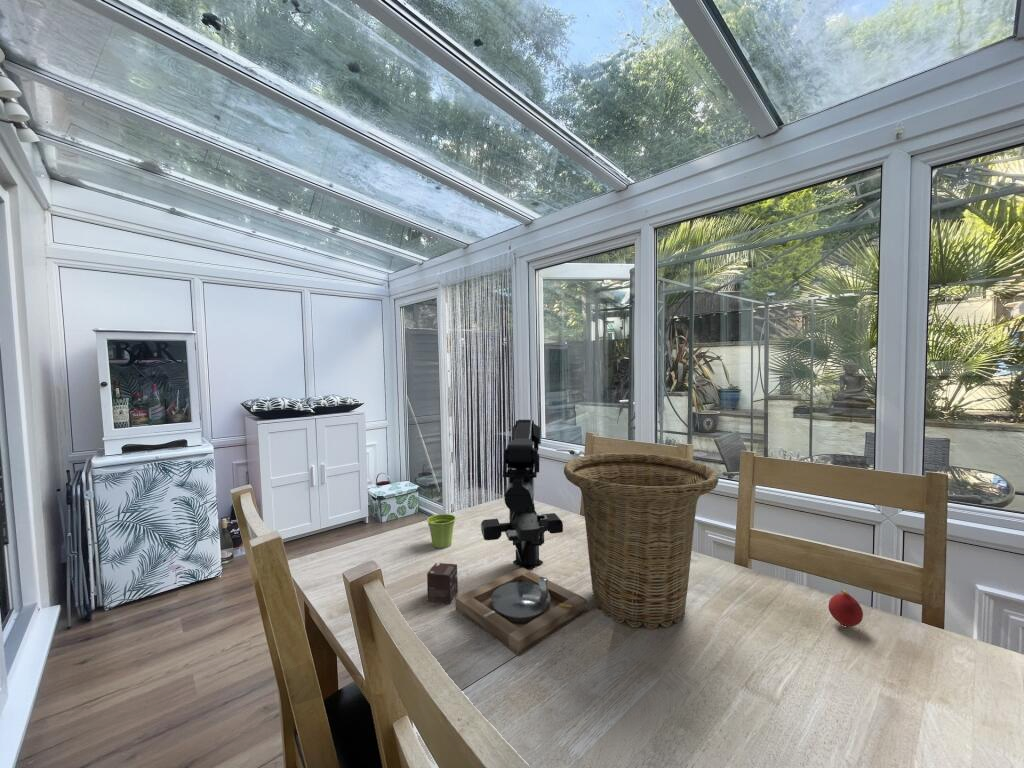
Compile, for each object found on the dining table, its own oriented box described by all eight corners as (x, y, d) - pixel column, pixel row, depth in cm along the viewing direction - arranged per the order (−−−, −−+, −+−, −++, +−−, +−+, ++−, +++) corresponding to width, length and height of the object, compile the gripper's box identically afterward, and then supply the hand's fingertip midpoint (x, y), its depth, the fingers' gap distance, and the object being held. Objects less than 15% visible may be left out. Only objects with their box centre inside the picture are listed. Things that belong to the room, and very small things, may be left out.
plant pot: (424, 542, 139) (423, 516, 138) (451, 537, 143) (451, 512, 142) (431, 553, 130) (430, 525, 130) (460, 547, 134) (459, 520, 134)
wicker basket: (593, 558, 125) (592, 448, 124) (724, 588, 107) (724, 459, 106) (540, 618, 95) (538, 474, 94) (709, 674, 77) (709, 497, 76)
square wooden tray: (522, 577, 114) (522, 566, 114) (587, 611, 98) (587, 597, 97) (455, 610, 99) (455, 596, 99) (518, 656, 83) (518, 640, 83)
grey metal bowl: (482, 618, 94) (482, 587, 93) (501, 586, 107) (500, 559, 107) (544, 627, 90) (543, 596, 89) (555, 594, 103) (555, 566, 103)
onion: (855, 621, 92) (855, 586, 92) (867, 637, 87) (868, 599, 87) (824, 616, 94) (824, 582, 94) (834, 632, 89) (835, 595, 89)
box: (450, 605, 101) (449, 575, 101) (426, 602, 103) (426, 573, 102) (458, 591, 107) (457, 563, 107) (436, 589, 109) (435, 562, 108)
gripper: (486, 512, 88) (488, 584, 89) (570, 504, 92) (571, 573, 93) (480, 495, 99) (481, 559, 100) (555, 489, 103) (556, 551, 104)
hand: (522, 561), depth 99 cm, fingers closed
